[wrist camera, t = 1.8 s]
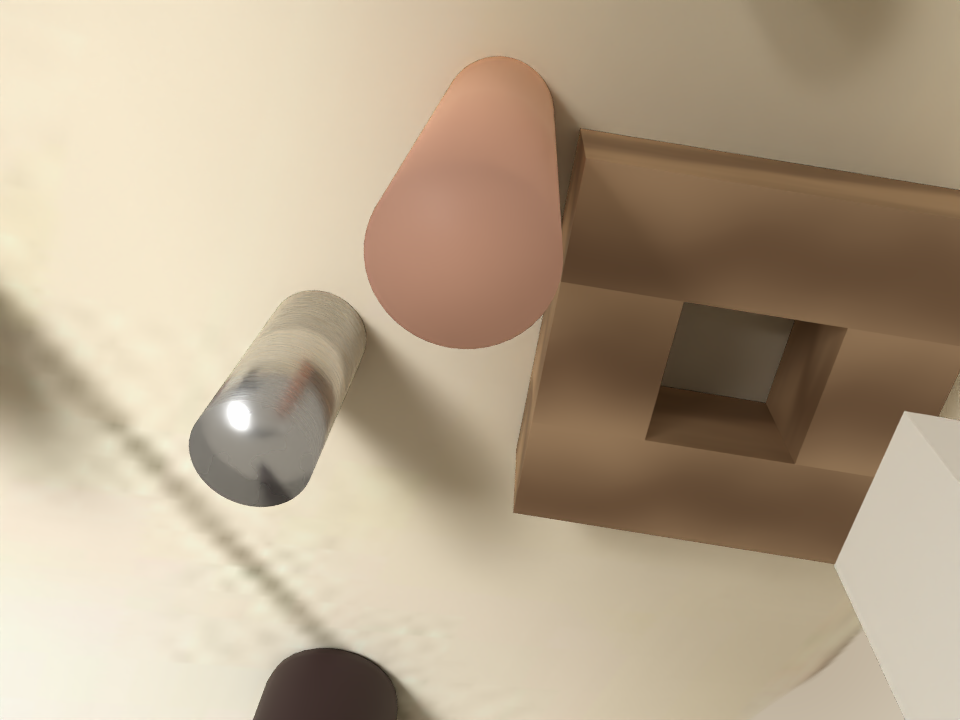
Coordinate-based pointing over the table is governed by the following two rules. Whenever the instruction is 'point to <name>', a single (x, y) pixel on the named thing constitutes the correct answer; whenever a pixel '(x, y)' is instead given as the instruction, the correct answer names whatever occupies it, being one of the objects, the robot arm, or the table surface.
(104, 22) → the table surface
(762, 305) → the hole block
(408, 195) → the long pin
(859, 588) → the robot arm
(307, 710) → the wine bottle
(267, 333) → the medium pin
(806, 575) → the table surface
